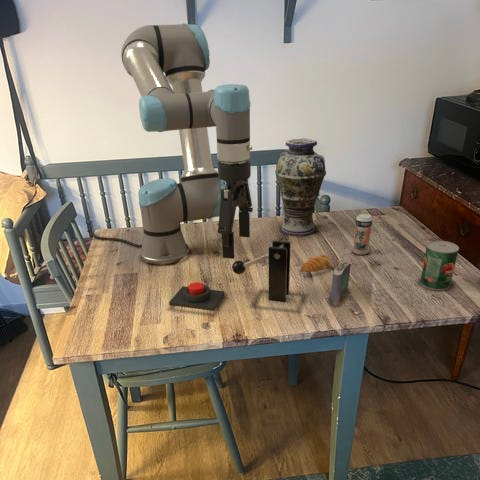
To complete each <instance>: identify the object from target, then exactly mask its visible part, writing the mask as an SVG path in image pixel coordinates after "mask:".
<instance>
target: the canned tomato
mask: <svg viewBox="0 0 480 480" xmlns="http://www.w3.org/2000/svg"><path fill="white" fill-rule="evenodd" d="M459 250H460V247H459V246H458V245H457V244H456V243H454V242H451V241H446V240H432V241H429V242H427V244H426V249H425V253H424V259H423V264H422V269H421V274H420V279H419V284H420V285H421V286H422V287H423V288H425V289H428V290H432V291H446V290H448V289H449V288H451V284H452V280H453V277H454V272H455V267H456V262H457V258H458V255H459Z"/></svg>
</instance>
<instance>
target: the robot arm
mask: <svg viewBox="0 0 480 480" xmlns="http://www.w3.org/2000/svg"><path fill="white" fill-rule="evenodd" d="M210 54H211V53H210V47H209V43H208V40H207V36H206V33H205V32H204V30H203V29H202V28H201V26H199V25H197V24H189V23H188V24H187V23H182V24H181V23H178V24H156V25H155V24H148V25H143V26H140V27H138V28H136V29H135V30H133V31H132V32H131V33H129V35H128V36H127V37H126V38H125V40H124V42H123V44H122V47H121V53H120V56H121V57H120V58H121V62H122V65H123V68H124V70H125V71H126V73H127V74H128V75H129V76H130V77H132V78H133V81H134V83H135V85H136V88H137V90H138V92H139V94H140V98H139V100H138V110H139V119H140V121H141V122H140V123H141V126H142V128H143V130H144V131H145V132H147V133H152V132H153V133H154V132H155V133H156V132H158V133H163V132H170V131H178V135H179V141H180V148H181V155H182V161H183V168H184V171H183V173H182V174H181V176H180V181H181V182H180V183H178V182H177V181H176V179H174V178H170V177H168V178H158V179H153V180H151V181H148V182H146V183H144V184H143V185H141V186H140V188H139V189H138V195H137V196H138V206H139V209H140V217H141V224H142V230H143V238H142V243H141V244H138V243H134V242H131V241H129V240H126V239H123V238H118V237H104V236H98V235H96V234H95V233H94V232H93V230H92V229H91V228H88V229H87V231H86V233H90V234H91V236H92V237H94V238H95V239H98V240H108V241H117V242H123V243H126V244H128V245H130V246H132V247H133V246H134V247H137V248H141V249H140V257H141V260H142V261H143V262H145V263H147V264H150V265H153V266H155V265H156V266H165V265H172V264H176V263H179V262H180V261H181V260H182V259H183V258H184V257H185V256H189V255H190V248H189V245H188V243H187V242H186V240H185V237H184V234H183V232H182V228H181V223H186V222H193V221H199V220H201V221H202V220H211V219H213V218H218V225H217V234H221V247H222V248H221V249H222V250H221V251H222V258H223V259H230V260H234V259H235V236H234V235H235V233H234V231H233V228H234V221H235V216H236V211H237V208H238V209H239V212H238V237H239V238H248V239H249V238H250V237H251V231H250V230H251V229H250V228H251V227H250V220H251V219H250V213H253V211H254V207H252V206H253V204H252V203H253V202H252V198H251V191H250V187H249V179H250V178H251V174H252V172H251V169H252V167H251V164H252V163H251V161H250V159H251V151H252V150H253V146H252V145H251V99H250V90H249V88H248V86H247V85H245V84H239V83H229V84H221V85H218V86H216V87H215V88H214V89H209V90H207V91H203V86H202V81H203V80H204V78H205V77H206V71H207V70H209V68H210V65H211V64H210V63H211V60H210ZM214 127H215V132H216V159H217V160H218V163H217V170H216V169H215V168H214V167H213V161H212V160H213V159H212V154H211V146H210V139H209V138H210V137H209V131H208V128H214Z"/></svg>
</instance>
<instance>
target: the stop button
mask: <svg viewBox="0 0 480 480" xmlns="http://www.w3.org/2000/svg"><path fill="white" fill-rule="evenodd" d="M204 285H205V284H204V283H203V282H201V281H195V282H194V281H193V282H192V283H190V284H188V286H187V287H189V293H190V294H193V295H197V294H202V293H204Z"/></svg>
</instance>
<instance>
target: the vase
mask: <svg viewBox="0 0 480 480" xmlns="http://www.w3.org/2000/svg"><path fill="white" fill-rule="evenodd" d="M317 145H318V141H316V140H315V139H313V138H292V139H288V140H286V141H285V146H286V147H288V151H283V152H281V153H280V154H279V155H278V160H277V162H276V163H277V164H276V166H275V171H274V174H275V176H276V179H277V183H278V187H279V196H280V198H281V200H282V206H283V207H282V208H283V215H284V216H283V221H282V225H281V228H280V231H281V232H282V233H283V234H285V235H287V236H296V237H302V236H309V235H312V234H315V232H316V226H315V224H314V218H313V217H314V216H313V215H314V211H315V204H316V202H317V199H318V198H319V197H320V191H321V187H322V185H323V181H324V180H325V177H326V175H327V170H326V161H325V157H324V156H323V155H322V154H319V153H317V152H315V151H314V147H316V146H317Z"/></svg>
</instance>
